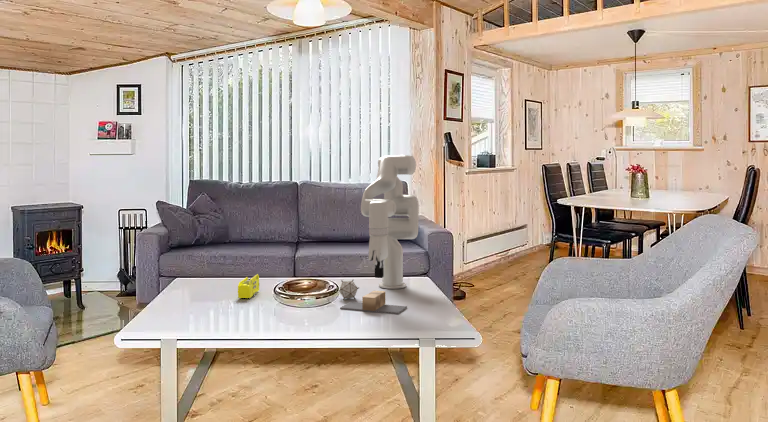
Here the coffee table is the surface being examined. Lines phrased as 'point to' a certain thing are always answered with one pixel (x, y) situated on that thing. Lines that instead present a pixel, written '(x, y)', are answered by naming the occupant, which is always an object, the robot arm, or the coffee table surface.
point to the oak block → (373, 300)
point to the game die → (348, 289)
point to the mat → (383, 309)
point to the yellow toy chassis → (248, 287)
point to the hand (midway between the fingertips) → (379, 277)
